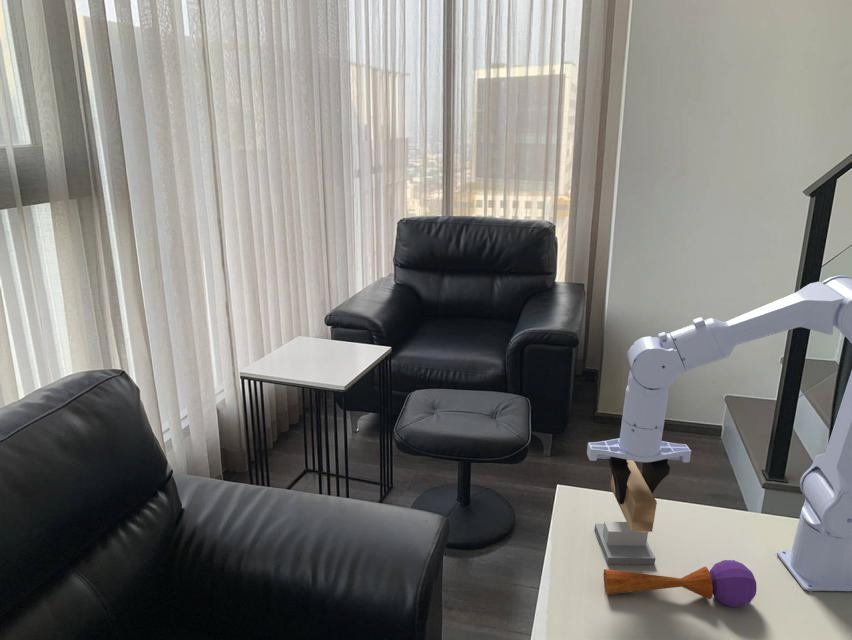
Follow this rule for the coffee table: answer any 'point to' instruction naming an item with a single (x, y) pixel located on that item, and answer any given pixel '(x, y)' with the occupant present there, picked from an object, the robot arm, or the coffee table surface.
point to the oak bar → (637, 501)
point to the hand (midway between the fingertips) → (631, 500)
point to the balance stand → (624, 544)
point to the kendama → (692, 582)
